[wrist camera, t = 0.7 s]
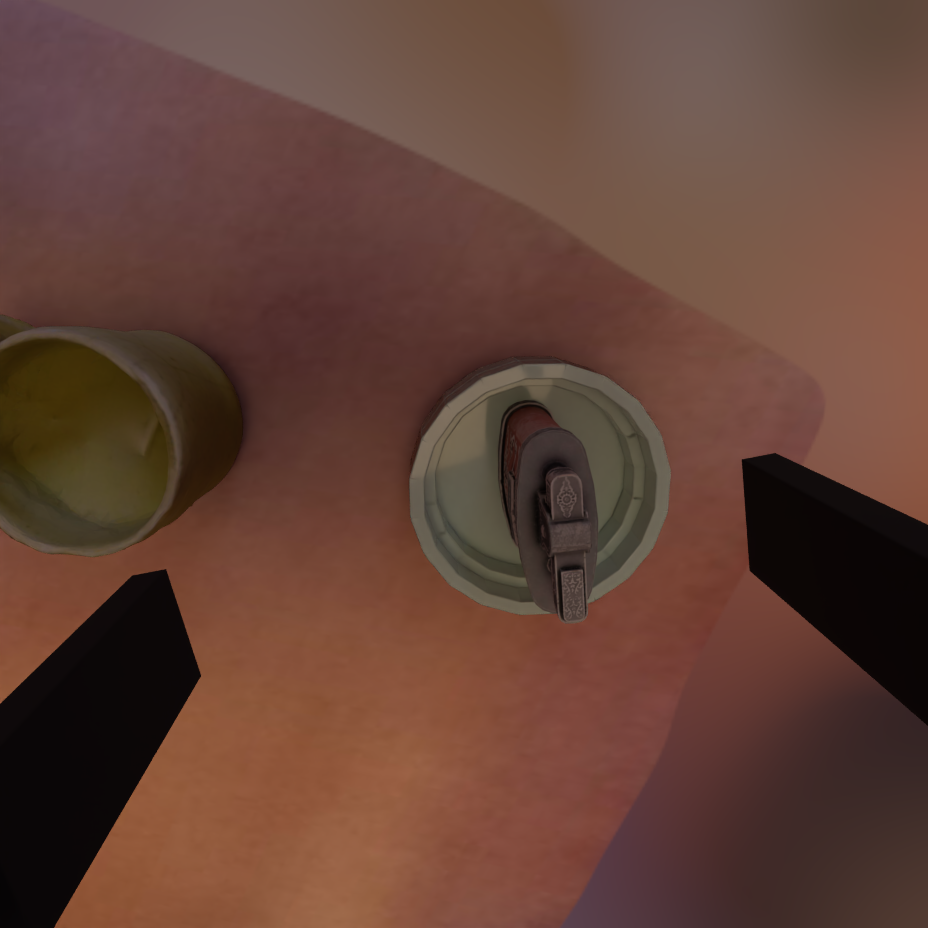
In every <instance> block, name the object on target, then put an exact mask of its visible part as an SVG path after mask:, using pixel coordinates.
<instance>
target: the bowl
mask: <svg viewBox="0 0 928 928" xmlns="http://www.w3.org/2000/svg"><path fill="white" fill-rule="evenodd" d="M523 400H534V401H537V402H540V403H542V404H543V405H544V406H545V407H547V408H548V409H549V410H550V411H551V413H552V415H553V417H554V419H555V422H556V423H557V424H558V425H559V426H560V427H561V428H563V429H566V430H568V431H570V432H571V433H573V434H574V435H575V436H576V437H577V438H578V439H579V440H580V441H581V442H582V444H583V446H584V448H585V450H586V454H587V458H588V462H589V466H590V470H591V474H592V478H593V482H594V488H595V496H596V505H597V513H598V549H597V562H596V568H595V574H594V581H593V587H592V592H591V594H590V597H589V599H588V603H591V602H594V601H595V600H597V599H599V598H600V597H602V596H603V595H605V594H606V593H608V592H609V591H611V590H612V589H614V588H615V587H616V586H618V585H619V584H621V583H622V582H624V581H625V580H627V578H629V577H630V576H631V575H632V574H633V572H634V571H635V570H636V569H637V567H638V566H639V565H640V564H641V563H642V561H643V560H644V559H645V558H646V556H647V555H648V554H649V553H650V552H651V550H652V549H653V547H654V545H655V543H656V540H657V538H658V535H659V533H660V530H661V528H662V526H663V523H664V521H665V518H666V516H667V513H668V512H667V511H668V503H669V490H670V477H671V473H670V472H671V470H670V466H669V462H668V458H667V454H666V451H665V447H664V443H663V439H662V435H661V434H660V432H659V430H658V429H657V427H656V426H655V424H654V423H653V421H652V420H651V418H650V417H649V415H648V414H647V412H646V411H645V409H644V408H643V406H642V405H641V403H640V402H639V401H638V400H637V399H636V398H635V397H633V396H632V395H631V394H629V393H628V392H626V391H625V390H624V389H622V388H621V387H620V386H618V385H617V384H616V383H614V382H613V381H612V380H610V379H609V378H608V377H606V376H604V375H602V374H600V373H598V372H596V371H594V370H592V369H590V368H588V367H585V366H581V365H578V364H575V363H572V362H569V361H566V360H563V359H560V358H556V357H552V356H523V357H511V358H508V359H505V360H502V361H499V362H496V363H493V364H490V365H487V366H484V367H481V368H479V369H476V370H475V371H473V372H472V373H470V374H469V375H468V376H466V377H465V378H463V379H462V380H461V381H459V382H458V383H457V384H455V385H454V386H453V387H451V388H450V389H449V390H447V391H446V392H445V394H443V395H442V397H441V398H440V399H439V401H438V402H437V404H436V405H435V406H434V408H433V409H432V411H431V412H430V414H429V415H428V416H427V418H426V419H425V421H424V422H423V423H422V425H421V428H420V431H419V435H418V438H417V441H416V445H415V448H414V451H413V454H412V458H411V464H410V475H409V495H410V518H411V522H412V524H413V527H414V529H415V532H416V535H417V537H418V540H419V543H420V545H421V548H422V550H423V553H424V554H425V556H426V558H427V559H428V560H429V561H430V562H431V564H432V565H433V566H434V567H435V568H436V570H437V571H438V572H439V573H440V574H441V576H442V577H443V578H444V579H445V581H446V582H447V583H448V584H449V585H450V586H452V587H453V588H455V589H457V590H458V591H460V592H461V593H463V594H465V595H466V596H468V597H469V598H471V599H472V600H474V601H476V602H477V603H479V604H482V605H484V606H487V607H491V608H495V609H499V610H503V611H506V612H510V613H514V614H519V615H529V614H554V613H550V612H547V611H544V610H542V609H541V608H539V607H538V606H537V605H536V604H535V602H534V601H533V599H532V597H531V594H530V591H529V588H528V584H527V581H526V577H525V574H524V570H523V567H522V563H521V560H520V555H519V548H517V547H516V546H515V544H514V543H513V541H512V538H511V535H510V532H509V529H508V525H507V522H506V518H505V515H504V511H503V508H502V502H501V495H500V489H499V483H498V443H499V434H500V425H501V419H502V416H503V413H504V412H505V411H506V409H507V408H508V407H509V406H511V405H512V404H514V403H516V402H519V401H523Z"/></svg>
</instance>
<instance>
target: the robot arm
mask: <svg viewBox="0 0 928 928" xmlns="http://www.w3.org/2000/svg"><path fill="white" fill-rule="evenodd" d="M742 469H743V483H744V497H745V511H746V525H747V539H748V553H749V568H750V571H751V572H752V573H753V574H754V575H755V576H756V577H758V578H759V579H760V580H761V581H762V582H763V583H765V584H766V585H767V586H768V587H769V588H770V589H771V590H773V591H774V592H775V593H776V594H777V595H778V596H779V597H780V598H782V599H783V600H784V601H785V602H787V604H789V605H790V606H791V607H792V608H793V609H794V610H796V611H797V612H798V613H799V614H800V615H801V616H802V617H804V618H805V619H806V620H807V621H808V622H809V623H811V624H812V625H813V626H814V627H815V628H816V629H817V630H818V631H820V632H821V633H822V634H823V635H824V636H825V637H826V638H828V639H829V640H830V641H831V642H832V643H833V644H834V645H836V646H837V647H838V648H839V649H840V650H841V651H843V652H844V653H845V654H846V655H847V656H848V657H849V658H851V659H852V660H853V661H854V662H855V663H857V665H859V666H860V667H861V668H862V669H863V670H864V671H866V672H867V673H868V674H869V675H870V676H871V677H872V678H874V679H875V680H876V681H877V682H878V683H879V684H880V685H882V686H883V687H884V688H885V689H886V690H887V691H888V692H890V693H891V694H892V695H893V696H894V697H895V698H897V699H898V700H899V701H900V702H901V703H902V704H903V705H905V706H906V707H907V708H908V709H909V710H910V711H911V712H913V713H914V714H915V715H916V716H917V717H918V718H920V719H921V720H922V721H923V722H924V723H925V724H926V725H928V525H927V524H925V523H923V522H921V521H918V520H916V519H914V518H912V517H910V516H908V515H906V514H904V513H902V512H900V511H897V510H895V509H893V508H891V507H889V506H887V505H885V504H882V503H880V502H878V501H876V500H874V499H872V498H870V497H868V496H865V495H863V494H861V493H859V492H857V491H855V490H853V489H850V488H848V487H846V486H844V485H842V484H840V483H838V482H836V481H833V480H831V479H829V478H827V477H825V476H823V475H821V474H819V473H816V472H814V471H812V470H810V469H808V468H806V467H804V466H802V465H799V464H797V463H795V462H793V461H791V460H789V459H787V458H784V457H782V456H780V455H778V454H776V453H773V454H768V455H763V456H758V457H752V458H747V459H742ZM200 677H201V674H200V671H199V668H198V665H197V662H196V659H195V656H194V653H193V650H192V647H191V644H190V641H189V638H188V635H187V632H186V628H185V625H184V622H183V619H182V616H181V613H180V610H179V607H178V604H177V601H176V598H175V595H174V592H173V589H172V586H171V583H170V580H169V577H168V574H167V571H166V569H165V570H159V571H154V572H149V573H144V574H138V575H133V576H131V577H130V578H129V579H128V580H127V581H126V582H125V583H124V584H123V585H122V586H121V587H120V588H119V589H118V590H117V591H116V592H115V593H114V594H113V595H112V596H111V597H110V598H109V599H108V600H107V601H106V602H105V603H104V604H103V605H102V606H100V607H99V608H98V609H97V610H96V611H95V612H94V613H93V614H92V615H91V616H90V617H89V618H88V619H87V620H86V621H85V622H84V623H83V624H82V625H81V626H80V627H79V628H78V629H77V630H76V631H75V632H74V633H73V634H72V635H71V636H70V637H69V638H68V639H67V640H65V641H64V642H63V643H62V644H61V645H60V646H59V647H58V648H57V649H56V650H55V651H54V652H53V653H52V654H51V655H50V656H49V657H48V658H47V659H46V660H45V661H44V662H43V663H42V664H41V665H40V666H39V667H38V668H37V669H36V670H35V671H34V672H33V673H31V674H30V675H29V676H28V677H27V678H26V679H25V680H24V681H23V682H22V683H21V684H20V685H19V686H18V687H17V688H16V689H15V690H14V691H13V692H12V693H11V694H10V695H9V696H8V697H7V698H6V699H5V700H4V701H3V702H2V703H1V704H0V928H54V927H55V925H56V923H57V921H58V920H59V918H60V916H61V915H62V913H63V911H64V909H65V908H66V906H67V904H68V903H69V901H70V899H71V897H72V896H73V894H74V892H75V891H76V889H77V887H78V885H79V884H80V882H81V880H82V879H83V877H84V875H85V874H86V872H87V870H88V868H89V867H90V865H91V863H92V862H93V860H94V858H95V856H96V855H97V853H98V851H99V850H100V848H101V846H102V844H103V843H104V841H105V839H106V838H107V836H108V834H109V832H110V831H111V829H112V827H113V826H114V824H115V822H116V820H117V819H118V817H119V815H120V814H121V812H122V810H123V809H124V807H125V805H126V803H127V802H128V800H129V798H130V797H131V795H132V793H133V791H134V790H135V788H136V786H137V785H138V783H139V781H140V779H141V778H142V776H143V774H144V773H145V771H146V769H147V767H148V766H149V764H150V762H151V761H152V759H153V757H154V755H155V754H156V752H157V750H158V749H159V747H160V745H161V744H162V742H163V740H164V738H165V737H166V735H167V733H168V732H169V730H170V728H171V726H172V725H173V723H174V721H175V720H176V718H177V716H178V714H179V713H180V711H181V709H182V708H183V706H184V704H185V702H186V701H187V699H188V697H189V696H190V694H191V692H192V690H193V689H194V687H195V685H196V684H197V682H198V680H199V679H200Z"/></svg>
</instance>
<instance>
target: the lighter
mask: <svg viewBox="0 0 928 928" xmlns="http://www.w3.org/2000/svg"><path fill="white" fill-rule="evenodd" d="M498 483H499V489H500V495H501V502H502V508H503V511H504V515H505V518H506V522H507V525H508V529H509V532H510V535H511V538H512V541H513V543H514V544H515V546H516V547H517V548H519V555H520V560H521V563H522V567H523V570H524V574H525V577H526V581H527V584H528V588H529V591H530V594H531V597H532V599H533V601H534V602H535V604H536V605H537V606H538V607H539V608H541V609H542V610H544V611H547V612H550V613H554V614H558V617H559V619H560V620H561V621H562V622H564V623H578V622H582V621H583V620H585V619H586V617H587V615H588V599H589V597H590V594H591V592H592V587H593V581H594V574H595V568H596V562H597V549H598V513H597V505H596V496H595V488H594V482H593V478H592V474H591V470H590V466H589V462H588V458H587V454H586V450H585V448H584V446H583V444H582V442H581V441H580V440H579V439H578V438H577V437H576V436H575V435H574V434H573V433H571V432H570V431H568V430H566V429H563V428H561V427H560V426H559V425H558V424H557V423H556V422H555V419H554V417H553V415H552V413H551V411H550V410H549V409H548V408H547V407H545V406H544V405H543V404H542V403H540V402H537V401H534V400H523V401H519V402H516V403H514V404H512V405H511V406H509V407H508V408H507V409H506V411H505V412H504V413H503V416H502V419H501V425H500V434H499V443H498Z"/></svg>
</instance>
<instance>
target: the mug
mask: <svg viewBox="0 0 928 928" xmlns="http://www.w3.org/2000/svg"><path fill="white" fill-rule="evenodd" d="M242 435H243V420H242V412H241V406H240V403H239V400H238V397H237V394H236V392H235V389H234V387H233V385H232V383H231V382H230V380H229V378H228V377H227V376H226V374H225V373H224V371H223V370H222V369H221V368H220V367H219V366H218V364H217V363H216V362H215V361H214V360H213V359H212V358H211V357H210V356H209V355H207V354H206V353H205V352H204V351H202V350H201V349H200V348H198V347H197V346H195V345H193V344H192V343H190V342H188V341H186V340H184V339H182V338H180V337H178V336H175V335H173V334H170V333H167V332H163V331H157V330H135V331H127V332H124V331H117V330H111V329H102V328H94V327H82V326H49V327H37V328H35V327H33V326H31V325H30V324H28V323H26V322H23V321H21V320H18V319H14V318H11V317H8V316H5V315H0V528H1V529H2V530H3V531H4V532H5V533H6V534H7V535H8V536H10V537H11V538H12V539H14V540H16V541H18V542H20V543H23V544H25V545H27V546H29V547H31V548H33V549H35V550H37V551H40V552H43V553H48V554H70V555H80V556H87V557H98V556H103V555H108V554H112V553H116V552H118V551H121V550H124V549H126V548H128V547H130V546H132V545H134V544H136V543H139V542H141V541H143V540H145V539H146V538H148V537H150V536H151V535H153V534H154V533H155V532H157V531H158V530H159V529H161V528H162V527H165V526H167V525H168V524H170V523H172V522H173V521H175V520H176V519H177V518H178V517H179V516H181V515H182V514H183V513H184V512H185V511H186V510H187V509H188V507H190V506H192V505H193V503H194V502H195V501H196V500H197V499H199V498H200V497H201V496H203V495H204V494H206V493H207V492H209V491H210V490H211V489H213V488H214V487H215V486H216V485H217V484H218V483H219V482H220V481H221V480H222V479H223V478H224V477H225V475H226V474H227V473H228V471H229V470H230V468H231V466H232V465H233V463H234V460H235V458H236V456H237V454H238V451H239V448H240V445H241V441H242Z"/></svg>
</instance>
